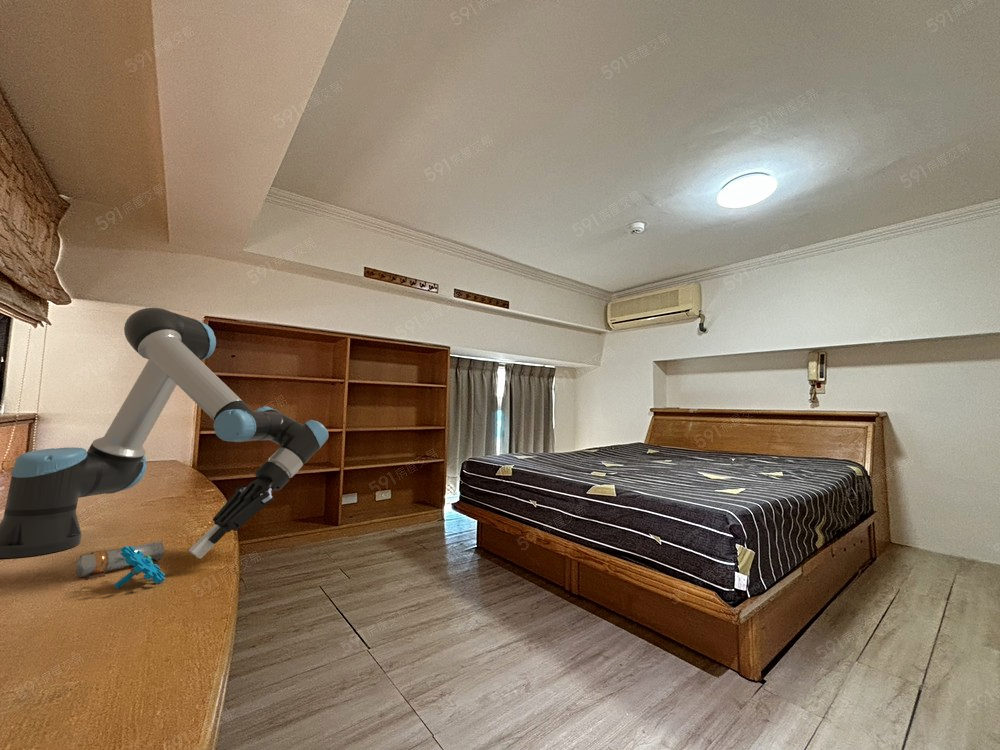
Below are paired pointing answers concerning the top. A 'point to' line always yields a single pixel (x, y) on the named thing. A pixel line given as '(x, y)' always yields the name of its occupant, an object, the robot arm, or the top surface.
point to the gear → (140, 566)
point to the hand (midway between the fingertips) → (194, 554)
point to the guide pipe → (114, 559)
